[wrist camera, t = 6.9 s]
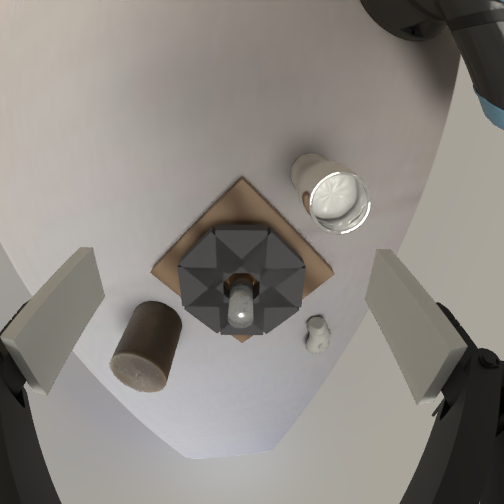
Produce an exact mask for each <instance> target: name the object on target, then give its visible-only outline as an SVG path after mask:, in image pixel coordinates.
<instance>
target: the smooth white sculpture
mask: <svg viewBox="0 0 504 504" xmlns="http://www.w3.org/2000/svg"><path fill="white" fill-rule="evenodd" d="M326 327H327V324H326V321H325V320H324V319H322V318H321V317H312V318H311V319H310V320H309V321H308V323H307V328H308V330H309V332H310V335H309V338H308V340H307V342H306V349H307V351H308V352H309V353H312V354H317V353H320V352H322V351H324V350H325V349H326V348H327V347H328V346H329V342H330V341H329V338H330V336H331V333H330V332H329V330H328V328H326Z"/></svg>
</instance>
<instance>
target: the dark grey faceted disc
mask: <svg viewBox="0 0 504 504" xmlns="http://www.w3.org/2000/svg"><path fill="white" fill-rule="evenodd" d="M305 272H306V267H305V264H304V261H303V258H302V257H301V256H300V255H299V254H298V253H297V252H296V251H295V250H294V249H293V248H292V247H291V246H290V245H289V244H288V243H287V242H286V241H285V240H284V239H283V238H282V237H281V236H280V235H279V234H278V233H277V232H276V231H275V230H274V229H273V228H272V227H270V228H269V229H268V230H267V225H217V226H216V229H215V228H214V227H213V226H212V227H211V228H210V229H209V230H208V231H207V232H206V233H205V234H204V235H203V236H202V237H201V238H200V239H199V240H198V241H197V242H196V243H195V244H194V245H193V246H192V247H191V248H190V249H189V250H188V251H187V252H186V253H185V254H184V255H183V256H182V257H181V259H180V262H179V265H178V276H179V284H180V291H181V299H182V306H185V310H186V311H188V312H189V313H190V314H191V315H193V316H194V317H195V318H197V319H198V320H200V321H201V322H202V323H204V324H205V325H206V326H208V327H209V328H210V329H212V330H213V331H214V332H216V333H218V332H221V335H263V332H265V333H266V334H267V333H268V332H270V331H271V330H273V329H274V328H275V327H277V326H278V325H280V324H281V323H282V322H284V321H285V320H287V319H288V318H289V317H291V316H292V315H293V314H295V313H296V312H297V311H299V307H301V304H302V296H303V288H304V280H305ZM233 273H250V274H251V275H252V276H253V277H254V278H255V279H256V280H258V281H259V288H258V289H256V290H255V291H254V292H253V322H252V324H251V325H250V326H248V327H246V328H235V327H233V326H232V325H230V323H229V322H228V309H229V297H230V291H229V290H227V289H226V288H225V286H224V281H225V280H226V279H227V278H229V277H230V276H231V275H232V274H233Z"/></svg>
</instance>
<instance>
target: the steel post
mask: <svg viewBox="0 0 504 504" xmlns="http://www.w3.org/2000/svg"><path fill="white" fill-rule="evenodd" d="M229 283H230V285H231V286H230V297H229V309H228V322H229V323H230V325H232V326H233V327H235V328H246V327H248V326H250V325H251V324H252V322H253V285H254V277H253V276H252V275H251V274H250V273H233V274H232V275H231V276H230V277H229Z"/></svg>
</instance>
